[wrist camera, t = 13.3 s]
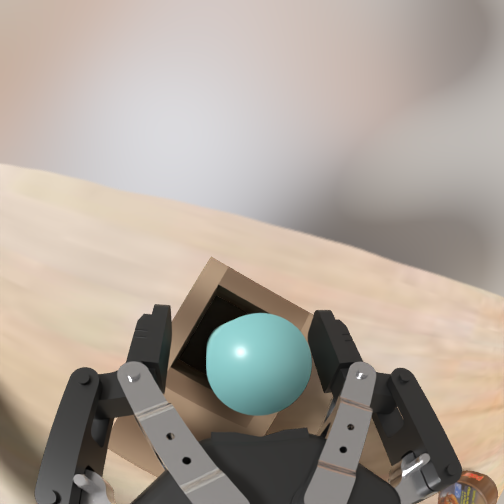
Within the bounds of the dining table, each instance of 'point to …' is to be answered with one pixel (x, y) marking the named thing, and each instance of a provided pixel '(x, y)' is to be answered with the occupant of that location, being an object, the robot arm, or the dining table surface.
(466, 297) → the dining table surface
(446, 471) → the robot arm
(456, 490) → the tin
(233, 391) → the peg
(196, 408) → the socket
